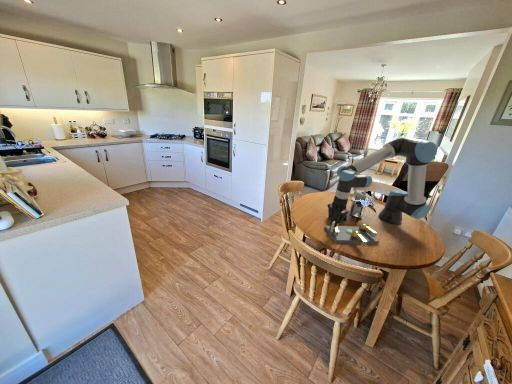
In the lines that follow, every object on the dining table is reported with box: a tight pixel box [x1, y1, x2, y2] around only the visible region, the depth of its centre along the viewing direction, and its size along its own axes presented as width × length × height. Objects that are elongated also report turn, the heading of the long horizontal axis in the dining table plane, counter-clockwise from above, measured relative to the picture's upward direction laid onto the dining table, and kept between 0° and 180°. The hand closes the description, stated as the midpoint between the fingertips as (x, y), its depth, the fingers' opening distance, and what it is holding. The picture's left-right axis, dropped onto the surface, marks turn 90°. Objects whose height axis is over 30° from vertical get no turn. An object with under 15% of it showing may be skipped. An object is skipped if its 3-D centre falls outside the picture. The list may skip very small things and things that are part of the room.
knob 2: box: [358, 222, 378, 238], centre depth 133 cm, size 12×5×4 cm, turn 12°
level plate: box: [324, 225, 380, 245], centre depth 133 cm, size 28×16×3 cm, turn 93°
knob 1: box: [329, 224, 340, 236], centre depth 131 cm, size 12×5×4 cm, turn 168°
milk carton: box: [349, 188, 367, 217], centre depth 157 cm, size 7×7×20 cm
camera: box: [332, 206, 348, 223], centre depth 147 cm, size 14×11×10 cm
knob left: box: [351, 229, 368, 247], centre depth 124 cm, size 12×5×4 cm, turn 3°
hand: (331, 231), depth 129 cm, fingers closed
